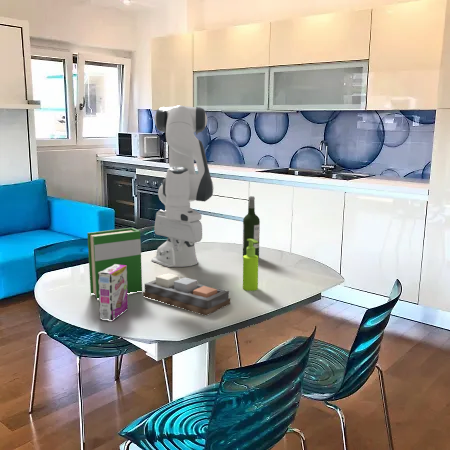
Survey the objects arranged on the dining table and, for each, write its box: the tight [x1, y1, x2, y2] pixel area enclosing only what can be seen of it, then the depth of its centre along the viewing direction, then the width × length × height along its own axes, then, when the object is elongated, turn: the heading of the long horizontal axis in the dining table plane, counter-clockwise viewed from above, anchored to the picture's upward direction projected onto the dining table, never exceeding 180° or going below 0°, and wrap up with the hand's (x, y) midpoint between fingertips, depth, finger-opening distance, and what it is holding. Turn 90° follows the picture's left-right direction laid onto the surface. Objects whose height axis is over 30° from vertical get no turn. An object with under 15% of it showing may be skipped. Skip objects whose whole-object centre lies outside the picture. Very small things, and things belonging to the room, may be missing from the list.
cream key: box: [155, 272, 180, 288], centre depth 182 cm, size 6×6×4 cm
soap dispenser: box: [242, 239, 259, 292], centre depth 189 cm, size 6×7×20 cm
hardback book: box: [86, 227, 143, 298], centre depth 183 cm, size 18×7×24 cm, turn 123°
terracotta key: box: [193, 285, 218, 298], centre depth 172 cm, size 6×6×4 cm
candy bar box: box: [98, 264, 129, 320], centre depth 162 cm, size 11×5×16 cm, turn 163°
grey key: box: [174, 277, 198, 293], centre depth 177 cm, size 6×6×4 cm
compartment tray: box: [142, 279, 231, 316], centre depth 178 cm, size 30×14×5 cm, turn 54°
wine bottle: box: [242, 195, 261, 260], centre depth 232 cm, size 8×8×30 cm
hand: (177, 250), depth 177 cm, fingers closed
